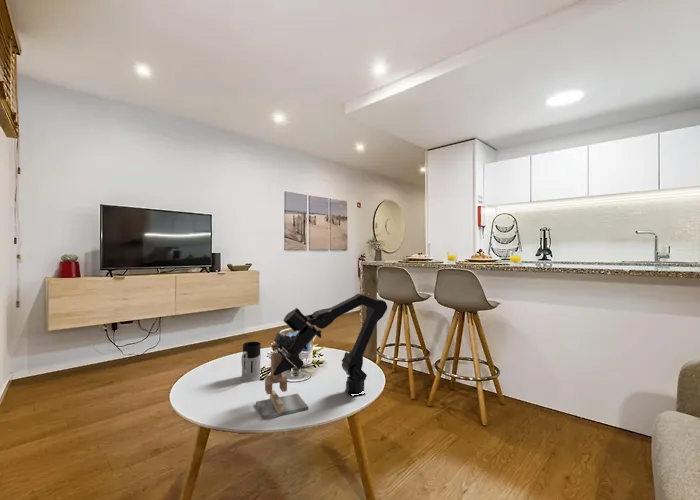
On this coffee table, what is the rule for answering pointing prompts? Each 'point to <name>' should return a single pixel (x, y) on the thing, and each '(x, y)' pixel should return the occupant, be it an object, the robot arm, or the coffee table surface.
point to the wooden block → (279, 378)
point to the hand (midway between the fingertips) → (272, 372)
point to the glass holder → (251, 361)
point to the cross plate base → (287, 406)
